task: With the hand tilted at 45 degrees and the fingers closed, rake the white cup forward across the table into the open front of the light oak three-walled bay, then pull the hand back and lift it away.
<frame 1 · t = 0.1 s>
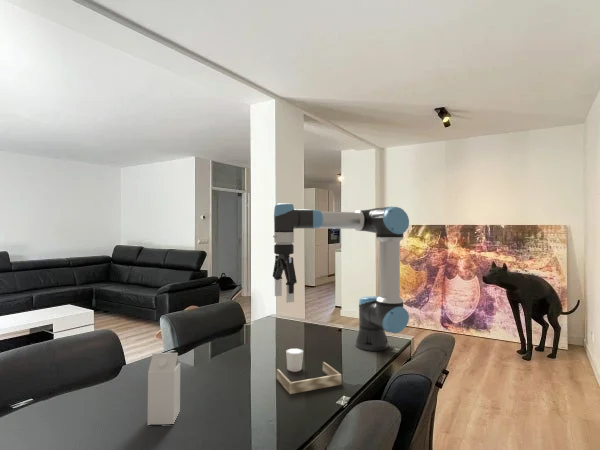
hand: (283, 299, 140), 28 cm above the table, tool pointing down, fingers open, 13 cm apart
bay: (308, 381, 131), on the table
white cup: (294, 369, 143), on the table
milk carton: (164, 420, 104), on the table
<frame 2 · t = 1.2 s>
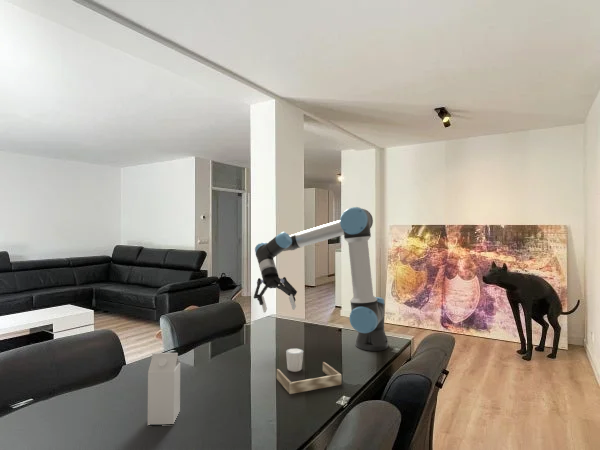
hand: (280, 309, 158), 20 cm above the table, tool tilted 45°, fingers open, 13 cm apart
nothing on the table moved.
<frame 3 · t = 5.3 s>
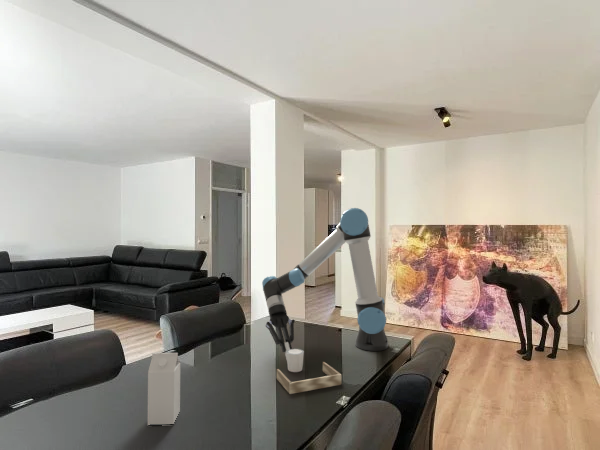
hand: (289, 358, 145), 3 cm above the table, tool tilted 45°, fingers closed
white cup: (295, 369, 142), on the table, touching gripper
everything else where it was.
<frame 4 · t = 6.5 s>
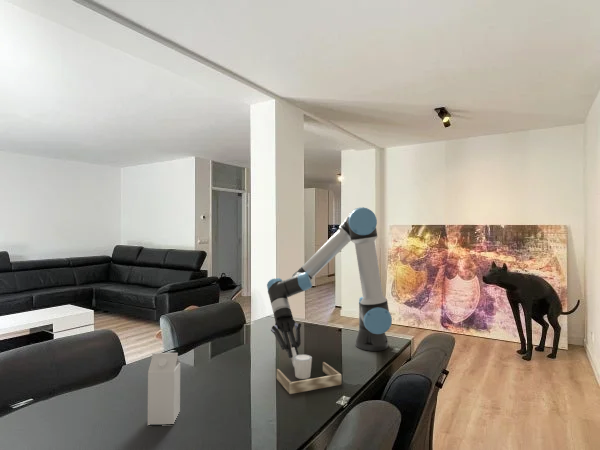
hand: (296, 364, 139), 3 cm above the table, tool tilted 45°, fingers closed
white cup: (302, 376, 136), on the table, touching gripper
everything else where it was.
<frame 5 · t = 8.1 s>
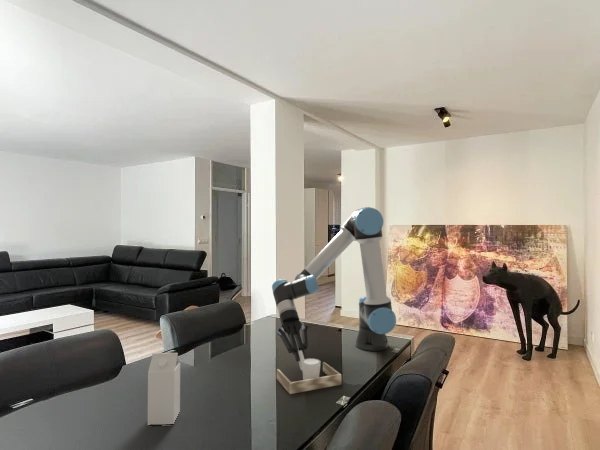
hand: (303, 368, 134), 3 cm above the table, tool tilted 45°, fingers closed
white cup: (311, 381, 131), on the table, touching gripper
everything else where it was.
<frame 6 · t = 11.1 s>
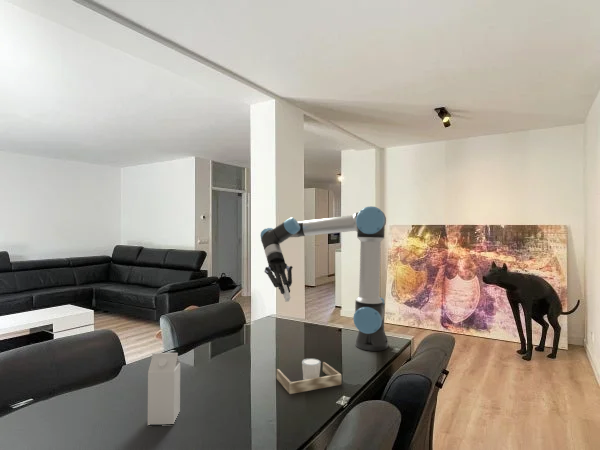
hand: (287, 299, 150), 26 cm above the table, tool tilted 45°, fingers closed
white cup: (311, 381, 131), on the table
everything else where it was.
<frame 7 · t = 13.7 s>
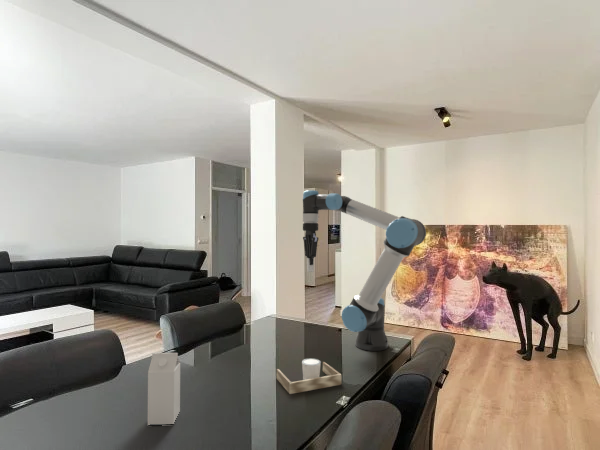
hand: (310, 271, 176), 34 cm above the table, tool pointing down, fingers closed
nothing on the table moved.
at the end: white cup inside the target area (1.2 cm from its centre), on the table; white cup tilted 0° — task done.
